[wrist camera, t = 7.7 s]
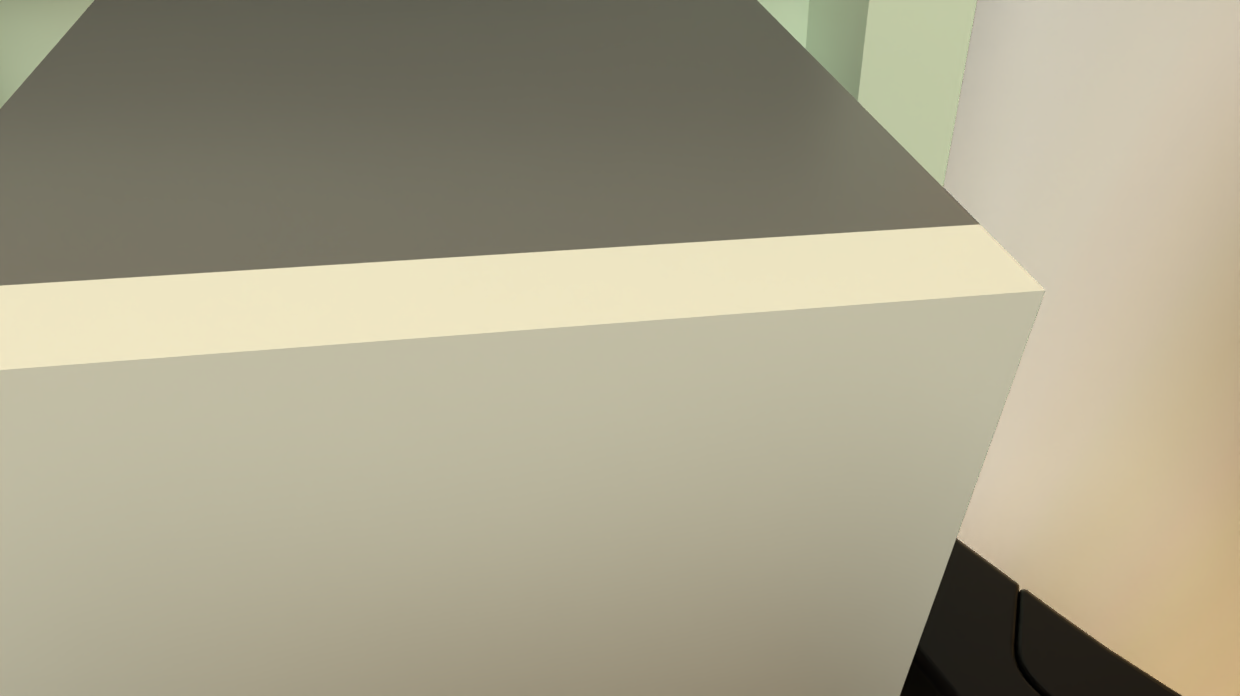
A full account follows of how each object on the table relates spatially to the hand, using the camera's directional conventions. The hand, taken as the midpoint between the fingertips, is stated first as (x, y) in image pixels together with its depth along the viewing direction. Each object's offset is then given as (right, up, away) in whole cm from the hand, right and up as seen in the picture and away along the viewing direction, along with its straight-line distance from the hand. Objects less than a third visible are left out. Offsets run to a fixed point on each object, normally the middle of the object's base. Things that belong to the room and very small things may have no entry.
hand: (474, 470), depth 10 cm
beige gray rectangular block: (0, +1, +1) cm, 1 cm away
